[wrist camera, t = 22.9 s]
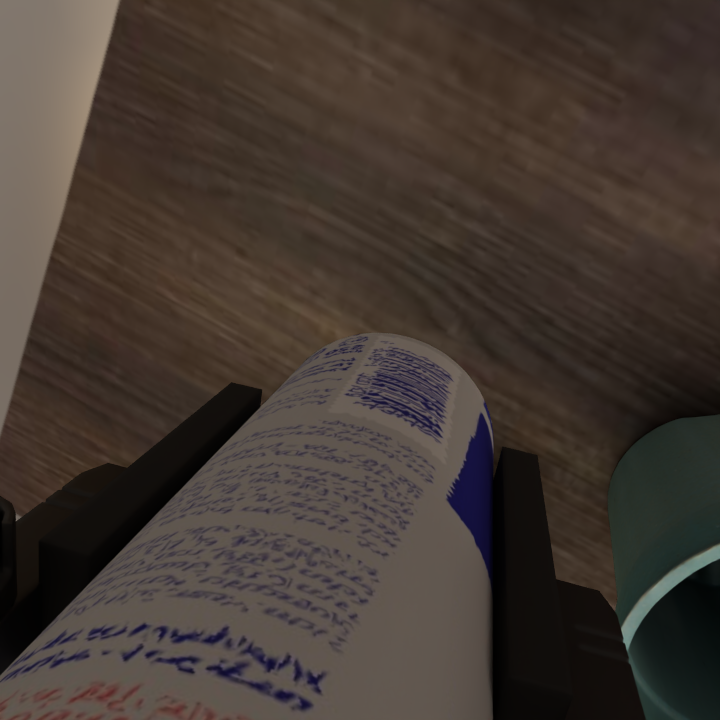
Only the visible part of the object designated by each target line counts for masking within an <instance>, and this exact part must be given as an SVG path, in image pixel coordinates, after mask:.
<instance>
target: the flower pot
mask: <svg viewBox="0 0 720 720" xmlns="http://www.w3.org/2000/svg"><path fill="white" fill-rule="evenodd" d="M608 516H609V524H610V532H611V541H612V551H613V560H614V569H615V578H616V588H617V597H618V599H617V604H616V610H615V613H616V614H617V616H618V620H619V624H620V627H621V631H622V634H623V638H624V639H623V643H625V645H626V649H627V653H628V656H629V664H631V667H632V671H633V674H634V678H635V682H636V685H637V689H638V693H639V696H640V700H641V704H642V707H643V711H644V715H645V718H646V720H720V414H719V415H712V416H702V417H691V418H680V419H676V420H674V421H671V422H668V423H666V424H664V425H662V426H659V427H657V428H656V429H654V430H652V431H651V432H649V433H648V434H646V435H645V436H643V437H642V438H641V439H639V440H638V441H637V442H636V443H635V444H634V445H633V446H632V447H631V448H630V449H629V450H628V451H627V452H626V453H625V455H624V456H623V457H622V459H621V460H620V462H619V463H618V465H617V467H616V469H615V471H614V473H613V475H612V478H611V481H610V485H609V490H608Z"/></svg>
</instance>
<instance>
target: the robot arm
mask: <svg viewBox="0 0 720 720" xmlns="http://www.w3.org/2000/svg"><path fill="white" fill-rule="evenodd" d="M261 395H262V389H257V388H253V387H249V386H245V385H240V384H236V383H232V382H231V383H230V384H229V385H228V386H227V387H225V388H224V389H223V390H222V391H221V392H219V393H218V394H217V395H216V396H214V397H213V398H212V399H211V400H210V401H208V402H207V403H206V404H205V405H203V406H202V407H201V408H200V409H199V410H197V411H196V412H195V413H194V414H192V415H191V416H190V417H189V418H188V419H186V420H185V421H184V422H183V423H181V424H180V425H179V426H178V427H177V428H175V429H174V430H173V431H172V432H171V433H169V434H168V435H167V436H166V437H164V438H163V439H162V440H161V441H160V442H158V443H157V444H156V445H155V446H153V447H152V448H151V449H150V450H149V451H147V452H146V453H145V454H144V455H142V456H141V457H140V458H139V459H138V460H136V461H135V462H134V463H133V464H131V465H130V466H129V467H128V468H126V467H122V466H118V465H114V464H110V463H107V464H104V465H101V466H99V467H96V468H93V469H91V470H88V471H85V472H82V473H81V474H79V475H78V476H77V477H75V478H74V479H73V480H71V481H70V482H69V483H67V484H66V485H65V486H63V487H62V490H58V491H57V492H55V493H54V494H53V495H51V496H50V497H48V498H47V499H46V502H45V503H44V502H42V503H40V504H39V505H38V506H36V507H35V508H34V509H32V510H31V511H30V512H28V513H27V514H26V515H24V516H23V517H21V518H20V519H19V520H17V521H16V513H15V510H14V508H13V505H12V503H10V502H9V501H7V500H6V499H4V498H2V497H1V496H0V675H1V674H2V673H3V672H4V671H5V670H6V669H7V668H8V667H9V666H10V665H11V664H12V663H13V662H14V661H15V660H16V659H17V658H18V657H19V656H20V655H21V654H22V653H23V652H24V650H25V649H26V648H27V647H28V646H29V645H30V644H31V643H32V642H33V641H34V640H35V639H36V638H37V637H38V636H39V635H40V634H41V633H42V632H43V631H44V630H45V629H46V628H47V627H48V626H49V625H50V624H51V623H52V622H53V621H54V620H55V619H56V617H57V616H58V615H59V614H60V613H61V612H62V611H63V610H64V609H65V608H66V607H67V606H68V605H69V604H70V603H71V602H72V601H73V600H74V599H75V598H76V597H77V596H78V595H79V594H80V593H81V592H82V591H83V590H84V589H85V588H86V587H87V586H88V584H89V583H90V582H91V581H92V580H93V579H94V578H95V577H96V576H97V575H98V574H99V573H100V572H101V571H102V570H103V569H104V568H105V567H106V566H107V565H108V564H109V563H110V562H111V561H112V560H113V559H114V558H115V557H116V556H117V555H118V554H119V553H120V551H121V550H122V549H123V548H124V547H125V546H126V545H127V544H128V543H129V542H130V541H131V540H132V539H133V538H134V537H135V536H136V535H137V534H138V533H139V532H140V531H141V530H142V529H143V528H144V527H145V526H146V525H147V524H148V523H149V522H150V521H151V520H152V518H153V517H154V516H155V515H156V514H157V513H158V512H159V511H160V510H161V509H162V508H163V507H164V506H165V505H166V504H167V503H168V502H169V501H170V500H171V499H172V498H173V497H174V496H175V495H176V494H177V493H178V492H179V491H180V490H181V489H182V488H183V487H184V485H185V484H186V483H187V482H188V481H189V480H190V479H191V478H192V477H193V476H194V475H195V474H196V473H197V472H198V471H199V470H200V469H201V468H202V467H203V466H204V465H205V464H206V463H207V462H208V461H209V460H210V459H211V458H212V457H213V456H214V455H215V454H216V452H217V451H218V450H219V449H220V448H221V447H222V446H223V445H224V444H225V443H226V442H227V441H228V440H229V439H230V438H231V437H232V436H233V435H234V434H235V433H236V432H237V431H238V430H239V429H240V428H241V427H242V426H243V425H244V424H245V423H246V422H247V421H248V419H249V418H250V417H251V416H252V415H253V414H254V413H255V412H256V411H257V410H258V409H259V408H260V403H261ZM623 639H624V638H623V634H622V631H621V627H620V624H619V620H618V616H617V614H616V613H615V611H614V610H613V609H612V607H611V606H610V605H609V603H608V602H607V601H606V599H605V598H604V597H603V595H602V594H601V593H600V591H598V590H594V589H590V588H587V587H583V586H579V585H575V584H571V583H568V582H564V581H560V580H556V576H555V569H554V563H553V556H552V549H551V543H550V536H549V530H548V523H547V516H546V510H545V503H544V496H543V490H542V483H541V476H540V470H539V463H538V456H537V455H535V454H531V453H527V452H523V451H519V450H514V449H510V448H506V447H502V451H501V454H500V458H499V462H498V466H497V469H496V473H495V477H494V481H493V720H646V718H645V715H644V711H643V707H642V704H641V700H640V696H639V693H638V689H637V685H636V682H635V678H634V674H633V671H632V667H631V664H629V656H628V653H627V649H626V645H625V643H623Z"/></svg>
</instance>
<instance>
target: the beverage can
mask: <svg viewBox="0 0 720 720" xmlns="http://www.w3.org/2000/svg"><path fill="white" fill-rule="evenodd" d="M0 720H493V429H492V422H491V418H490V414H489V411H488V408H487V406H486V403H485V401H484V399H483V397H482V395H481V393H480V391H479V389H478V388H477V386H476V385H475V383H474V382H473V380H472V379H471V378H470V377H469V375H468V374H467V373H466V372H465V371H464V370H463V369H462V368H461V367H460V366H459V365H458V364H457V363H456V362H455V361H453V360H452V359H451V358H450V357H448V356H447V355H446V354H444V353H443V352H441V351H440V350H438V349H436V348H434V347H432V346H430V345H429V344H426V343H424V342H421V341H419V340H416V339H413V338H410V337H406V336H402V335H397V334H389V333H366V334H359V335H353V336H349V337H346V338H343V339H340V340H337V341H334V342H332V343H330V344H328V345H326V346H324V347H323V348H321V349H319V350H318V351H316V352H315V353H314V354H313V355H311V356H310V357H309V358H308V359H306V360H305V361H304V363H303V364H302V365H301V366H300V367H299V368H298V369H297V370H296V371H295V372H294V373H293V374H292V375H291V376H290V377H289V378H288V379H287V380H286V381H285V382H284V383H283V384H282V385H281V386H280V388H279V389H278V390H277V391H276V392H275V393H274V394H273V395H272V396H271V397H270V398H269V399H268V400H267V401H266V402H265V403H264V404H263V405H262V406H261V407H260V408H259V409H258V410H257V411H256V412H255V413H254V414H253V415H252V416H251V417H250V418H249V419H248V421H247V422H246V423H245V424H244V425H243V426H242V427H241V428H240V429H239V430H238V431H237V432H236V433H235V434H234V435H233V436H232V437H231V438H230V439H229V440H228V441H227V442H226V443H225V444H224V445H223V446H222V447H221V448H220V449H219V450H218V451H217V452H216V454H215V455H214V456H213V457H212V458H211V459H210V460H209V461H208V462H207V463H206V464H205V465H204V466H203V467H202V468H201V469H200V470H199V471H198V472H197V473H196V474H195V475H194V476H193V477H192V478H191V479H190V480H189V481H188V482H187V483H186V484H185V485H184V487H183V488H182V489H181V490H180V491H179V492H178V493H177V494H176V495H175V496H174V497H173V498H172V499H171V500H170V501H169V502H168V503H167V504H166V505H165V506H164V507H163V508H162V509H161V510H160V511H159V512H158V513H157V514H156V515H155V516H154V517H153V518H152V520H151V521H150V522H149V523H148V524H147V525H146V526H145V527H144V528H143V529H142V530H141V531H140V532H139V533H138V534H137V535H136V536H135V537H134V538H133V539H132V540H131V541H130V542H129V543H128V544H127V545H126V546H125V547H124V548H123V549H122V550H121V551H120V553H119V554H118V555H117V556H116V557H115V558H114V559H113V560H112V561H111V562H110V563H109V564H108V565H107V566H106V567H105V568H104V569H103V570H102V571H101V572H100V573H99V574H98V575H97V576H96V577H95V578H94V579H93V580H92V581H91V582H90V583H89V584H88V586H87V587H86V588H85V589H84V590H83V591H82V592H81V593H80V594H79V595H78V596H77V597H76V598H75V599H74V600H73V601H72V602H71V603H70V604H69V605H68V606H67V607H66V608H65V609H64V610H63V611H62V612H61V613H60V614H59V615H58V616H57V617H56V619H55V620H54V621H53V622H52V623H51V624H50V625H49V626H48V627H47V628H46V629H45V630H44V631H43V632H42V633H41V634H40V635H39V636H38V637H37V638H36V639H35V640H34V641H33V642H32V643H31V644H30V645H29V646H28V647H27V648H26V649H25V650H24V652H23V653H22V654H21V655H20V656H19V657H18V658H17V659H16V660H15V661H14V662H13V663H12V664H11V665H10V666H9V667H8V668H7V669H6V670H5V671H4V672H3V673H2V674H1V675H0Z"/></svg>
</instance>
